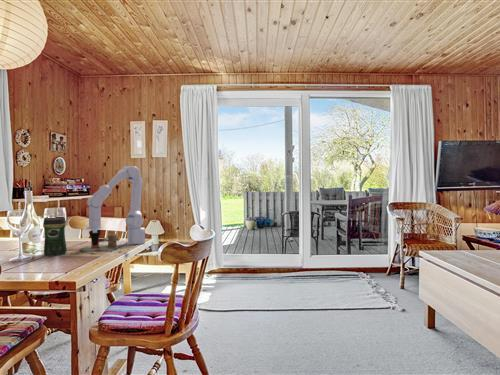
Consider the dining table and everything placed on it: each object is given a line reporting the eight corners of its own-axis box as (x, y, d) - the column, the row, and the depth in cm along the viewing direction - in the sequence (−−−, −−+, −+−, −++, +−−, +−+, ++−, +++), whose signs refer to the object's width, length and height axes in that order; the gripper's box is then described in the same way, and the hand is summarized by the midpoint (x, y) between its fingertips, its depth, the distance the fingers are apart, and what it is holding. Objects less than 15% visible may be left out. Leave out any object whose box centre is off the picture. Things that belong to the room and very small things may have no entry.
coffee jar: (67, 251, 171) (67, 215, 171) (64, 255, 164) (64, 216, 164) (45, 253, 168) (45, 215, 168) (41, 256, 161) (41, 217, 160)
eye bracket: (116, 245, 189) (116, 232, 188) (117, 249, 178) (117, 235, 177) (82, 247, 182) (82, 234, 182) (81, 252, 171) (81, 238, 171)
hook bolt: (120, 244, 185) (119, 234, 185) (120, 245, 182) (120, 235, 182) (91, 246, 180) (91, 236, 180) (91, 247, 176) (91, 237, 176)
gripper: (86, 217, 183) (87, 242, 184) (85, 220, 170) (86, 247, 170) (101, 217, 186) (101, 241, 187) (101, 220, 173) (101, 246, 173)
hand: (95, 244), depth 179 cm, fingers closed on hook bolt, 4 cm apart
